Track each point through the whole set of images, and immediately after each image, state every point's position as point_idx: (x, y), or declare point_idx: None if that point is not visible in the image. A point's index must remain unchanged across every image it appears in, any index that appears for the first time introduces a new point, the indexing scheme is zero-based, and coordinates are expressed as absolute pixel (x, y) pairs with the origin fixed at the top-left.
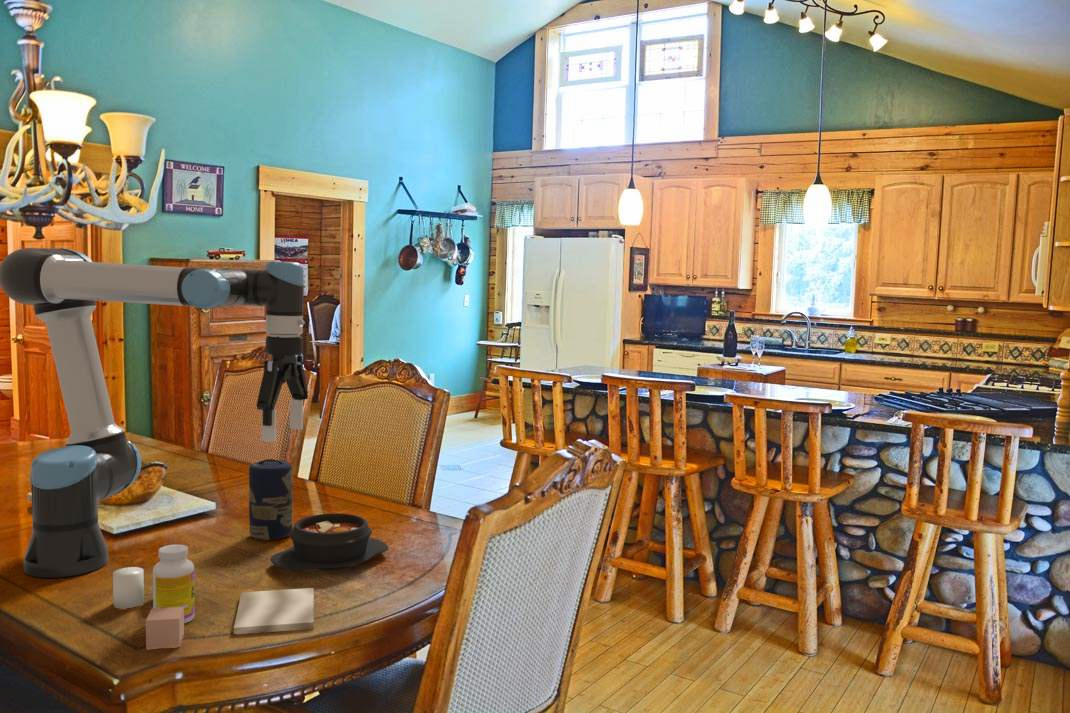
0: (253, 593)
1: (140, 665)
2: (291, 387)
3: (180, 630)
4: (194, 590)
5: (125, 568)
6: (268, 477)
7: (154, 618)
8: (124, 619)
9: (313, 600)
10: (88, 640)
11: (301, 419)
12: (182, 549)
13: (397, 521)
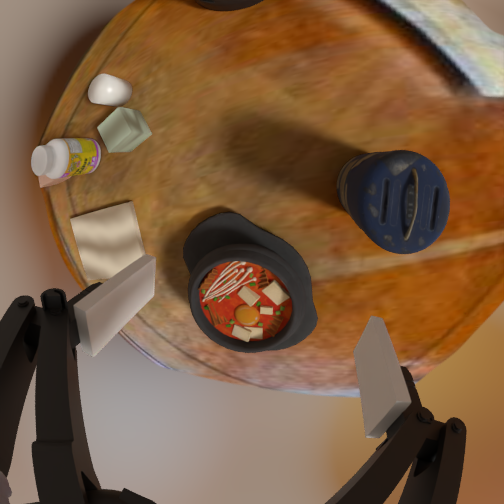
0: (127, 215)
1: None
2: (360, 473)
3: (51, 184)
4: (125, 151)
5: (108, 78)
6: (355, 203)
7: None
8: (91, 111)
9: None
10: (64, 109)
11: (357, 375)
12: (37, 171)
13: (405, 347)
